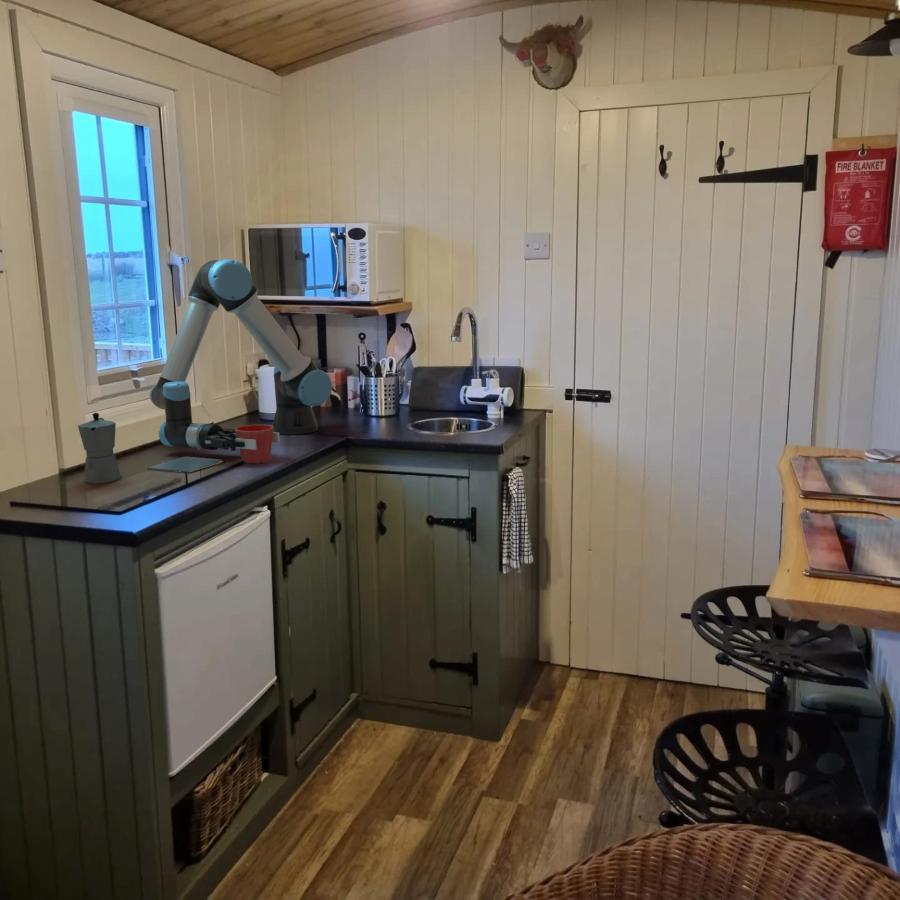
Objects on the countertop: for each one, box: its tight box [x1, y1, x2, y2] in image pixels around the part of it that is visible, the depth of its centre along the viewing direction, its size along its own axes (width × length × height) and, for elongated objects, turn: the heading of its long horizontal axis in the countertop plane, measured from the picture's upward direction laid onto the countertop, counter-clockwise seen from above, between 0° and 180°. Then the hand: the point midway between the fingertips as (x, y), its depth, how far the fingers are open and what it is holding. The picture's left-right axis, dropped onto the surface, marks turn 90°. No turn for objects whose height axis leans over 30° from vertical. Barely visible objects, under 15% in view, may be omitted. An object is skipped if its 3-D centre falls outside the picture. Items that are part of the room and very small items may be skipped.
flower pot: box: [235, 424, 273, 464], centre depth 252 cm, size 11×11×10 cm
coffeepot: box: [77, 412, 122, 485], centre depth 234 cm, size 15×9×18 cm, turn 13°
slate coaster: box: [147, 456, 221, 473], centre depth 248 cm, size 15×15×1 cm
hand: (267, 441), depth 249 cm, fingers closed on flower pot, 10 cm apart
